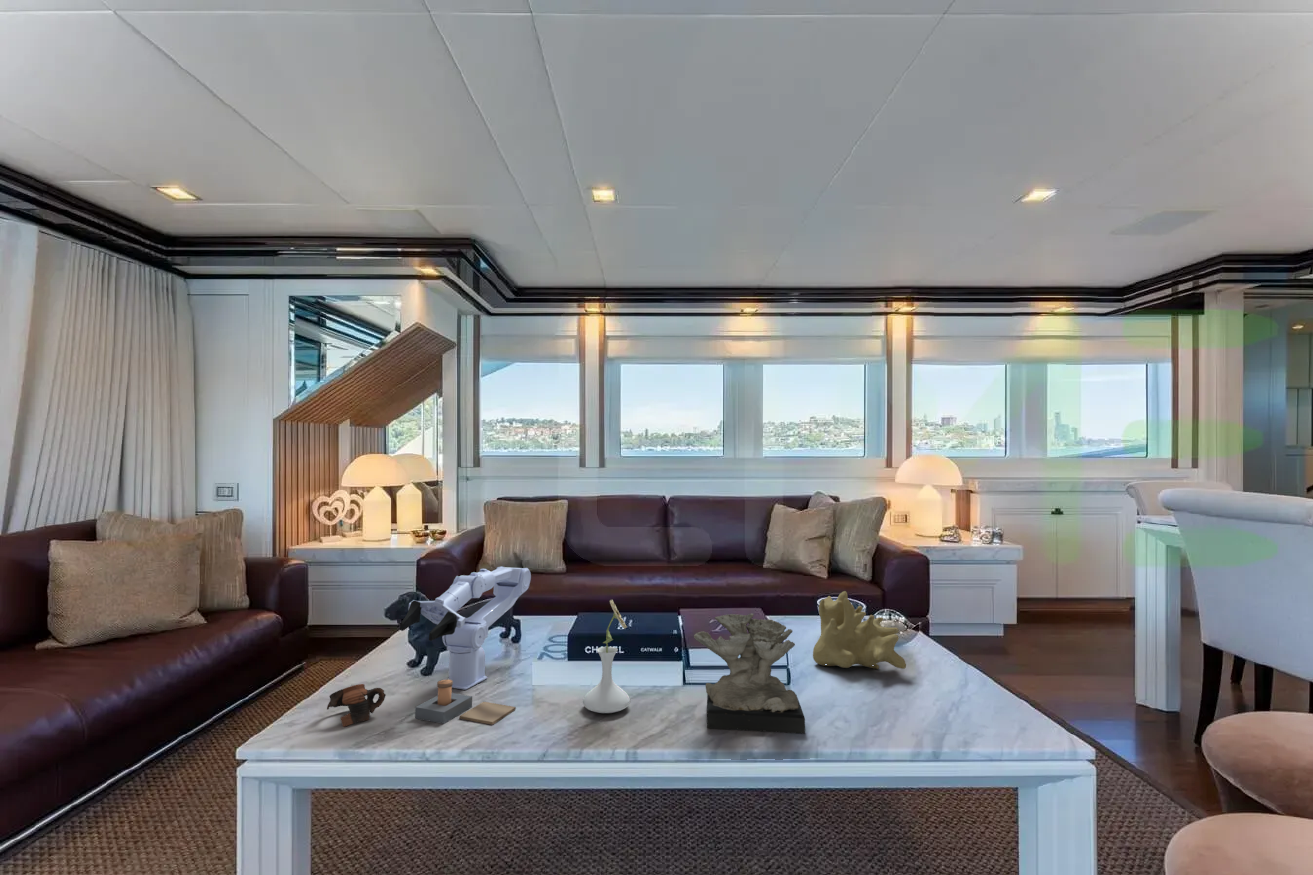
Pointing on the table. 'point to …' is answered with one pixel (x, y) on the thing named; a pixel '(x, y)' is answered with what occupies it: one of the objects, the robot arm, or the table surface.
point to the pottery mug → (356, 702)
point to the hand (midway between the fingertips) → (415, 631)
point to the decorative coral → (853, 637)
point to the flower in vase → (607, 679)
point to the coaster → (487, 713)
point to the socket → (443, 708)
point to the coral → (751, 678)
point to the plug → (444, 692)
